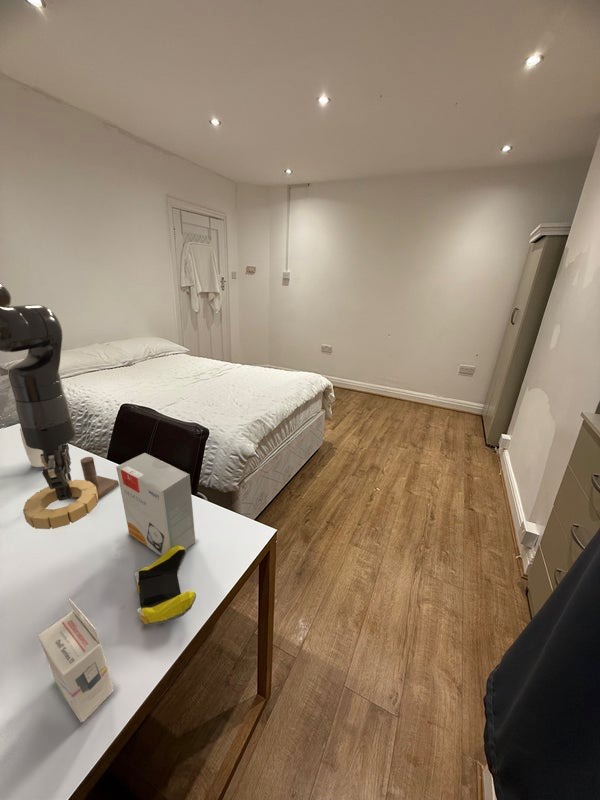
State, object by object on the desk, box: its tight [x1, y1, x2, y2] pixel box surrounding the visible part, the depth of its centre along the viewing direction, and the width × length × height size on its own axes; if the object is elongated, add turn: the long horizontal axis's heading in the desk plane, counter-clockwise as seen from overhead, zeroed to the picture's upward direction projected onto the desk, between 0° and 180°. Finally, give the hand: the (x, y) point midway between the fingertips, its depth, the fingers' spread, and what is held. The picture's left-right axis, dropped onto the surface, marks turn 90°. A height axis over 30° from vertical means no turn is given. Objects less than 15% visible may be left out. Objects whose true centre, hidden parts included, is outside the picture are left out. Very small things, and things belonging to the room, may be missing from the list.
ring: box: [22, 479, 99, 530], centre depth 62 cm, size 11×12×2 cm
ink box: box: [37, 598, 115, 723], centre depth 47 cm, size 9×5×15 cm, turn 56°
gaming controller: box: [134, 545, 197, 626], centre depth 64 cm, size 15×6×10 cm
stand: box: [70, 456, 120, 501], centre depth 91 cm, size 9×9×10 cm
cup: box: [19, 425, 44, 468], centre depth 101 cm, size 8×8×14 cm
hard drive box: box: [115, 452, 196, 557], centre depth 74 cm, size 16×8×20 cm, turn 60°
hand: (66, 494), depth 66 cm, fingers closed on ring, 2 cm apart
